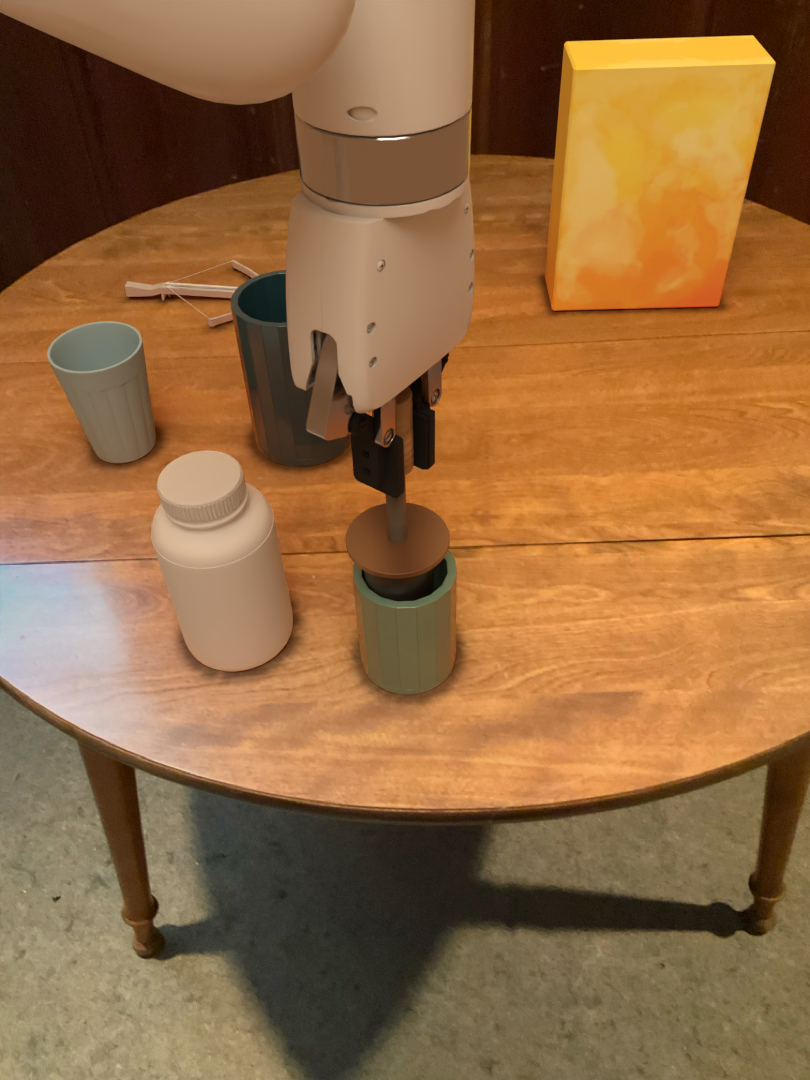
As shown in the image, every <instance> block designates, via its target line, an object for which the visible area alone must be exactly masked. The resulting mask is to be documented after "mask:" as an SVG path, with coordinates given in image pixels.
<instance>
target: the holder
mask: <svg viewBox="0 0 810 1080" xmlns="http://www.w3.org/2000/svg"><path fill="white" fill-rule="evenodd" d="M456 562H457V561H456V558H455V557H454V555H453V554H452V552H451V550H449V549H448V551H447V553H446V555H445V557H444V558H443V560H442V561H441V562H440V563H439V564H438V565H437V566H435V567H434V568H433V593H432V594H431V595H429V596H426V597H423V598H420V599H418V600H415V601H394V600H390V599H386V598H383V597H380V596H379V595H377V594H376V593H374V592H373V591H372V590H370V589H369V588H368V587H367V585H366V583H365V577H364V570H362V569H361V568H359V567H358V566H357V565H356V564H355V563H354V562H353V563H352V585H353V595H354V603H355V604H354V605H355V614H356V622H357V623H356V624H357V634H358V642H359V644H358V645H359V655H360V660H361V664H362V668H363V671H364V673H365V675H366V676H367V677H368V679H369V680H370V681H371V683H373V684H374V685H375V686H377V687H378V688H380V689H382V690H384V691H386V692H389V693H392V694H396V695H405V696H410V695H411V696H412V695H418V694H423V693H426V692H429V691H432V690H433V689H435V688H437V687H438V686H440V685H441V684H442V683H444V682H445V680H447V679H448V678H449V676H450V674H451V673H452V671H453V669H454V667H455V661H456V656H457V600H458V599H457V596H458V593H457V587H458V586H457V585H458V571H457V563H456Z"/></svg>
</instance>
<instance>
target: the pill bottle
mask: <svg viewBox="0 0 810 1080" xmlns="http://www.w3.org/2000/svg"><path fill="white" fill-rule="evenodd" d="M156 491H157V495H158V498H159V501H160V504H159V506H158V507H157V508H156V510H155V512H154V514H153V517H152V521H151V525H150V526H151V527H150V528H151V529H150V539H151V543H152V547H153V550H154V554H155V556H156V559H157V562H158V565H159V568H160V572H161V574H162V577H163V580H164V583H165V587H166V589H167V592H168V595H169V598H170V601H171V604H172V608H173V610H174V614H175V617H176V619H177V623H178V625H179V628H180V632H181V634H182V638H183V641H184V643H185V645H186V647H187V649H188V651H189V653H190V654H191V655H192V657H194V658H195V659H196V660H197V661H198V662H199V663H201V664H202V665H204V666H206V667H208V668H210V669H212V670H216V671H221V672H231V673H233V672H242V671H243V672H244V671H248V670H251V669H255V668H258V667H260V666H262V665H264V664H266V663H267V662H269V661H271V660H272V659H273V658H275V657H276V656H278V654H280V652H281V651H282V650H283V649H284V647H285V646H286V645H287V643H288V642H289V640H290V638H291V635H292V631H293V627H294V626H293V625H294V613H293V606H292V602H291V598H290V591H289V586H288V581H287V576H286V570H285V565H284V560H283V555H282V550H281V543H280V540H279V536H278V535H279V534H278V529H277V523H276V518H275V515H274V510H273V507H272V506H271V503H270V502H269V501H268V499H267V497H266V496H265V495H264V494H263V493H262V491H260V490H259V489H258V488H256V487H255V486H254V485H253V484H251V483H249V482H246V480H245V474H244V470H243V467H242V465H241V463H239V461H238V460H237V459H236V458H235V457H233V456H232V455H230V454H228V453H226V452H222V451H219V450H208V449H206V450H197V451H196V450H195V451H191V452H189V453H185V454H183V455H180V456H179V457H177V458H175V459H173V460H172V461H171V462H169V463H168V464H167V465H165V466H164V467H163V468H162V470H161V472H160V473H159V475H158V477H157V481H156Z"/></svg>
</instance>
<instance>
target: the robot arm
mask: <svg viewBox="0 0 810 1080" xmlns="http://www.w3.org/2000/svg"><path fill="white" fill-rule="evenodd" d="M0 14H3V15H5V16H7V17H10V18H12V19H14V20H16V21H18V22H21V23H23V24H25V25H27V26H30V27H31V28H33V29H36V30H38V31H40V32H43V33H44V34H47V35H50V36H52V37H54V38H56V39H58V40H61V41H62V42H65V43H67V44H70V45H73V46H75V47H77V48H78V49H82V50H84V51H86V52H88V53H91V54H92V55H95V56H97V57H99V58H102V59H105V60H107V61H109V62H111V63H113V64H116V65H117V66H120V67H122V68H124V69H127V70H129V71H132V72H134V73H135V74H138V75H140V76H143V77H145V78H147V79H149V80H152V81H154V82H157V83H158V84H161V85H163V86H166V87H168V88H171V89H174V90H177V91H179V92H181V93H184V94H186V95H188V96H191V97H194V98H196V99H200V100H204V101H209V102H212V103H217V104H218V103H219V104H226V105H234V106H236V105H237V106H241V105H242V106H243V105H255V104H264V103H266V102H269V101H274V100H277V99H280V98H283V97H286V96H288V95H289V94H291V97H292V107H293V118H294V127H295V139H296V148H297V157H298V158H297V159H298V169H299V179H300V187H301V191H300V192H298V193H297V194H296V195H294V196H293V197H292V198H291V203H290V210H289V217H288V224H287V235H286V236H287V237H286V250H285V270H286V310H287V330H288V344H289V355H290V364H291V372H292V377H293V381H294V383H295V385H296V387H298V388H300V389H303V390H305V391H307V390H308V389H309V388H311V387H313V391H312V396H311V402H310V407H309V412H308V417H307V422H306V429H307V431H308V432H310V433H312V434H314V435H316V436H318V437H321V438H323V439H325V440H328V441H330V440H334V439H338V438H342V437H346V436H347V435H349V434H351V443H350V444H351V445H350V446H351V460H352V474H353V477H354V478H355V480H356V481H357V482H358V483H361V484H363V485H365V486H367V487H370V488H372V489H374V490H376V491H378V492H380V493H382V494H384V495H385V494H386V495H389V496H391V497H393V498H398V497H399V496H400V495H402V494H403V493H404V488H405V482H404V442H403V439H402V438H401V437H400V436H398V435H395V434H396V404H395V396H396V395H398V394H399V393H400V392H401V391H403V390H404V389H405V388H406V387H409V388H410V389H411V391H412V401H413V448H414V467H416V468H418V469H420V470H422V471H423V470H425V471H427V470H430V469H431V468H432V467H433V466H434V465H435V464H436V410H435V409H432V408H435V407H436V406H437V405H438V404H439V402H440V401H441V397H442V394H443V386H442V385H443V384H442V383H443V382H442V381H443V377H442V375H443V374H442V373H443V371H444V369H445V366H446V365H447V363H448V362H449V357H450V352H451V351H452V350H453V349H454V348H456V347H457V345H459V343H460V342H461V341H463V339H464V338H465V336H466V335H467V333H468V331H469V329H470V327H471V321H472V316H473V308H474V307H473V306H474V295H475V293H474V292H475V267H476V266H475V265H476V264H475V228H474V214H473V212H474V211H473V200H472V189H471V181H470V174H471V173H470V171H471V149H472V148H471V146H472V145H471V143H472V116H473V115H472V114H473V104H472V103H473V83H474V54H475V53H474V52H475V51H474V50H475V22H476V20H475V18H476V0H0ZM372 411H374V417H373V416H372V415H370V414H368V413H370V412H372ZM386 495H385V496H386Z"/></svg>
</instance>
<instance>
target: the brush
mask: <svg viewBox="0 0 810 1080" xmlns="http://www.w3.org/2000/svg"><path fill="white" fill-rule="evenodd" d="M395 404H396V434H395V435H398V436H400V437H401V438H402V439H403V442H404V482H405V488H404V493H403V494H402V495H400V496H399V497H398V498H393V497H391V496H389V495H386V494H384V495H385V503H380V504H377V505H374V506H371V507H369V508H367V509H365V510H363V511H362V512H360V513H359V514H358V515H357V516H356V517H355V518H354V519H353V520H352V521H351V522H350V523H349V524H348V525H349V526H348V527H347V529H346V532H345V537H344V542H345V543H344V544H345V551H346V553H347V555H348V557H349V558H350V560H351V561H352V562H353V563H355V564H356V565H357V566H358V567H359V568H361V569H362V570H364V577H365V583H366V585H367V587H368V588H369V589H370V590H372V591H373V592H374V593H376V594H377V595H379V596H380V597H383V598H386V599H390V600H394V601H415V600H418V599H420V598H423V597H426V596H429V595H431V594H432V593H433V568H434V567H435V566H437V565H438V564H439V563H440V562H441V561H442V560H443V558H444V557H445V555H446V553H447V551H448V550H449V549H450V540H451V539H450V530H449V527H448V525H447V524H446V521H445V520H444V519H443V518H442V517H441V516H440V515H439V514H438V513H437V512H435V511H433V510H432V509H430V508H428V507H426V506H424V505H421V504H417V503H414V502H407V486H406V485H407V481H406V476H407V475H408V474H410V473H411V472H413V471H412V470H413V469H414V467H415V466H414V448H413V401H412V391H411V389H410V388H409V387H406V388H405V389H404V390H403V391H401V392H400V393H399V394H398V395H396V396H395ZM371 416H373V417H374V411H371Z"/></svg>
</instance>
